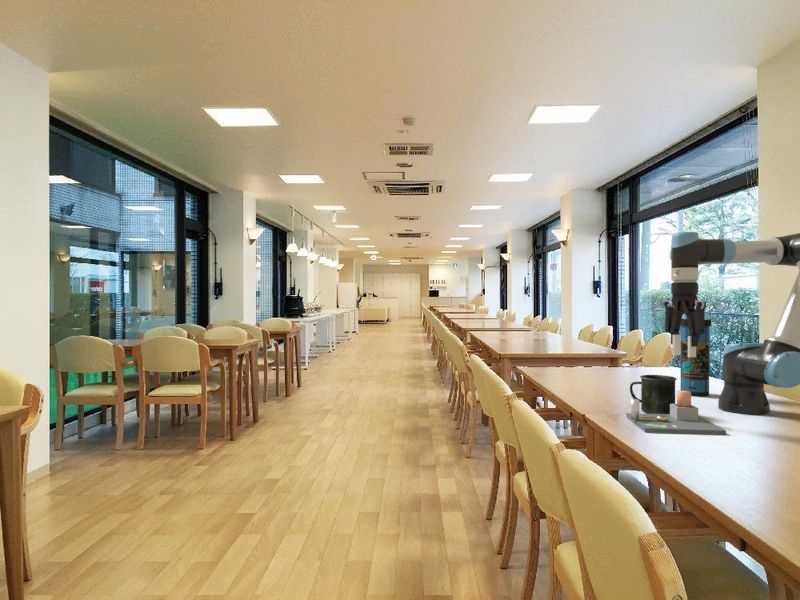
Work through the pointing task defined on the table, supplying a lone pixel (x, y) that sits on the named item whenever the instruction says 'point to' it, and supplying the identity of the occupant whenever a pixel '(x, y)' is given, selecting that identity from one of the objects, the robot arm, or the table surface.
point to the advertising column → (695, 362)
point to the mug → (656, 393)
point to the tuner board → (678, 422)
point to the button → (684, 399)
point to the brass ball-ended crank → (636, 412)
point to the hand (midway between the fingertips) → (684, 355)
